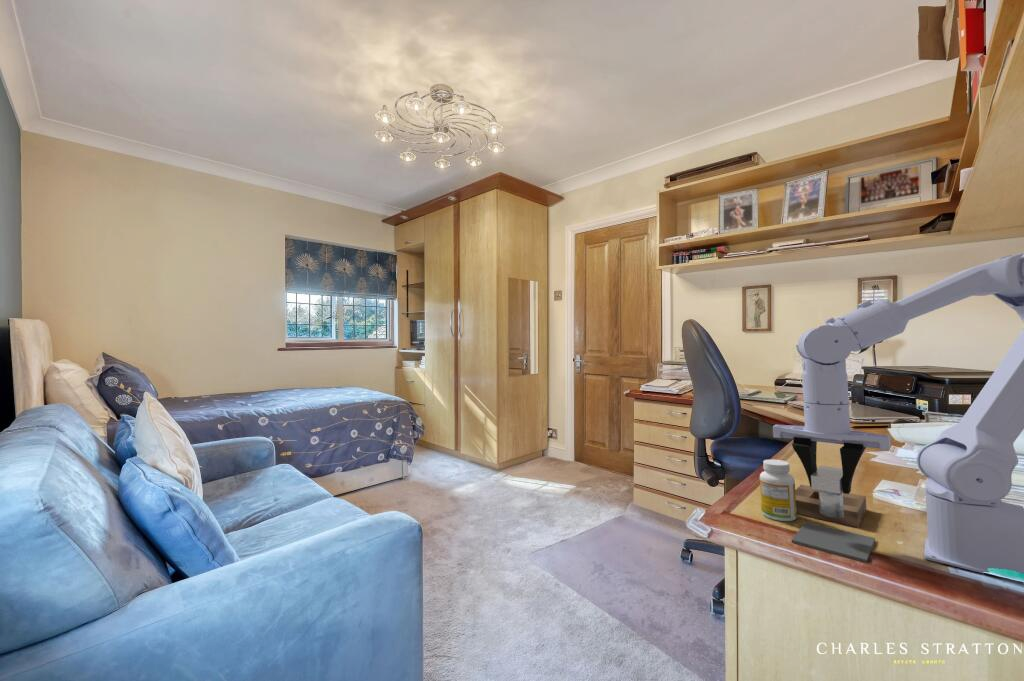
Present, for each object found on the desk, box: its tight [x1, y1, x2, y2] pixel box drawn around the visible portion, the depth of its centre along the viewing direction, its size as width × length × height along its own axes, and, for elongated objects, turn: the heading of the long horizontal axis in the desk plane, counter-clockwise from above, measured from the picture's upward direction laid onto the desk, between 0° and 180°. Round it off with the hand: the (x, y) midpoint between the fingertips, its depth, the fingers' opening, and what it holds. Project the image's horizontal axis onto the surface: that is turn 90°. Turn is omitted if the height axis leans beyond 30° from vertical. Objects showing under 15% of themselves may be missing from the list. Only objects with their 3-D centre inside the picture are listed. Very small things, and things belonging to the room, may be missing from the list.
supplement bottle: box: [759, 458, 798, 522], centre depth 74 cm, size 5×5×10 cm
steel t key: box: [811, 465, 844, 518], centre depth 64 cm, size 7×4×6 cm, turn 133°
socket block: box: [795, 484, 867, 528], centre depth 76 cm, size 10×10×2 cm
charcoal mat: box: [791, 521, 876, 563], centre depth 64 cm, size 9×9×1 cm
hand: (830, 488), depth 64 cm, fingers closed on steel t key, 3 cm apart
